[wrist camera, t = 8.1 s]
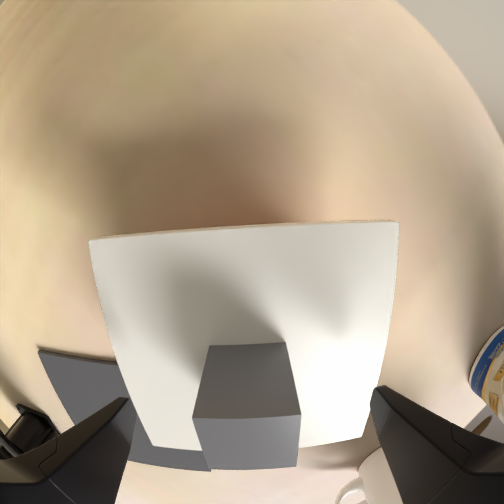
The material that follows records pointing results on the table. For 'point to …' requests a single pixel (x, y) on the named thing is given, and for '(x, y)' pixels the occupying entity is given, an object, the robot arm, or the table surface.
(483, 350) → the beverage bottle
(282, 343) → the lid
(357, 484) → the mug
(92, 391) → the mat
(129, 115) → the table surface
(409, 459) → the robot arm
